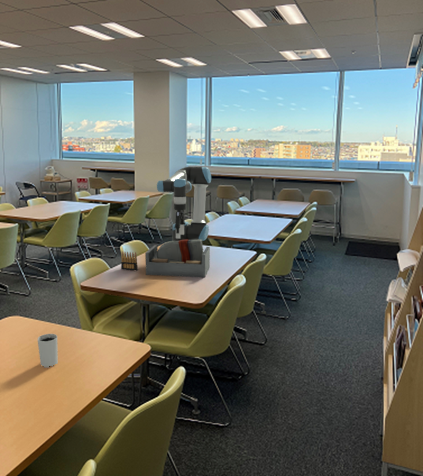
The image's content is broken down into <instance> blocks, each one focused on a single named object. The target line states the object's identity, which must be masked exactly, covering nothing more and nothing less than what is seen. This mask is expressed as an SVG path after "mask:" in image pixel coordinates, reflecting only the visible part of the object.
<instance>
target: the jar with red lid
mask: <svg viewBox="0 0 423 476" xmlns="http://www.w3.org/2000/svg"><path fill="white" fill-rule="evenodd" d="M203 252H204V246H203V241H202V240H201V239H198V240H188V239H186V240H180V241H173V240H170V241H165V242H164V243H162V244H161V245H160V247H159V248H158V253H157V259H168V263H169V262H184V263H186V261H201V264H202V254H203Z"/></svg>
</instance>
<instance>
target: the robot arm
mask: <svg viewBox="0 0 423 476" xmlns="http://www.w3.org/2000/svg"><path fill="white" fill-rule="evenodd" d="M211 181H212V173H211V170H210V168H209V166H208V167H207V166H185V167H183V168H180V169H178V170H177V171H175V173H174V174H172V175H171V176H170V177H168V178H166V179H165V180H162V179H161V180H158V181H157V184H156V190H157V192H159V193H173V202H174V204H173V209H174V210H176V213H175V223H173V224H172V230H171V231H172V241H180V240H186V239H188V240H198V239H201V240H202V242H203V241H206V240H207V238H208V235H209V232H210V231H209V230H210V229H209V228H210V226H209V225H208V224H207V222H206V220H205V218H206V202H207V201H206V199H207V187H209V184H210V183H212V182H211ZM192 186H193V187H194V191H193V213H192V215H193V216H192V220H191V221H190V223H189V222H188V221H185V210H186V208H187V204H186V203H187V196H186V195H187V193H189V192H190V191H192V188H193V187H192Z"/></svg>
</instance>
